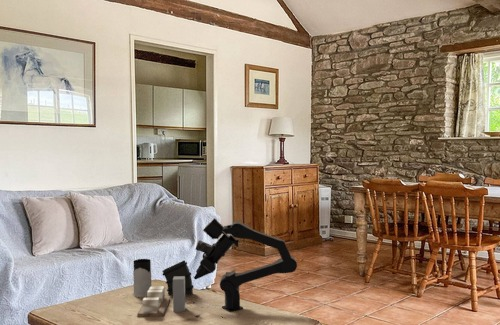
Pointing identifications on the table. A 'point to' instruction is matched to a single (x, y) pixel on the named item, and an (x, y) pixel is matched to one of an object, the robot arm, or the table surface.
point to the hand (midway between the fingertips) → (195, 275)
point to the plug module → (178, 293)
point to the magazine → (178, 270)
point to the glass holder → (142, 277)
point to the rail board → (160, 312)
